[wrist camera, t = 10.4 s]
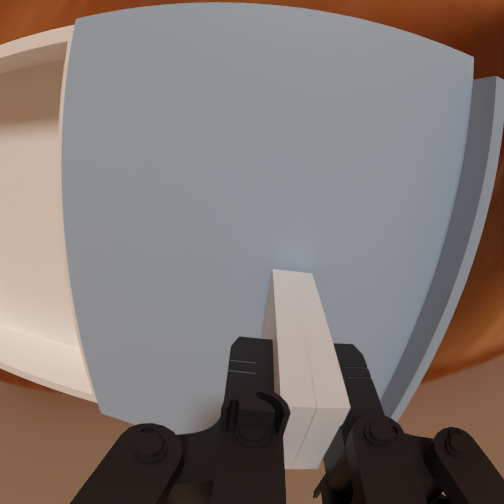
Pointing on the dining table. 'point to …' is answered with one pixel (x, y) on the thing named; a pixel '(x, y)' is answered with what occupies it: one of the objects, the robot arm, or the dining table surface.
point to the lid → (265, 193)
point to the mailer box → (36, 218)
